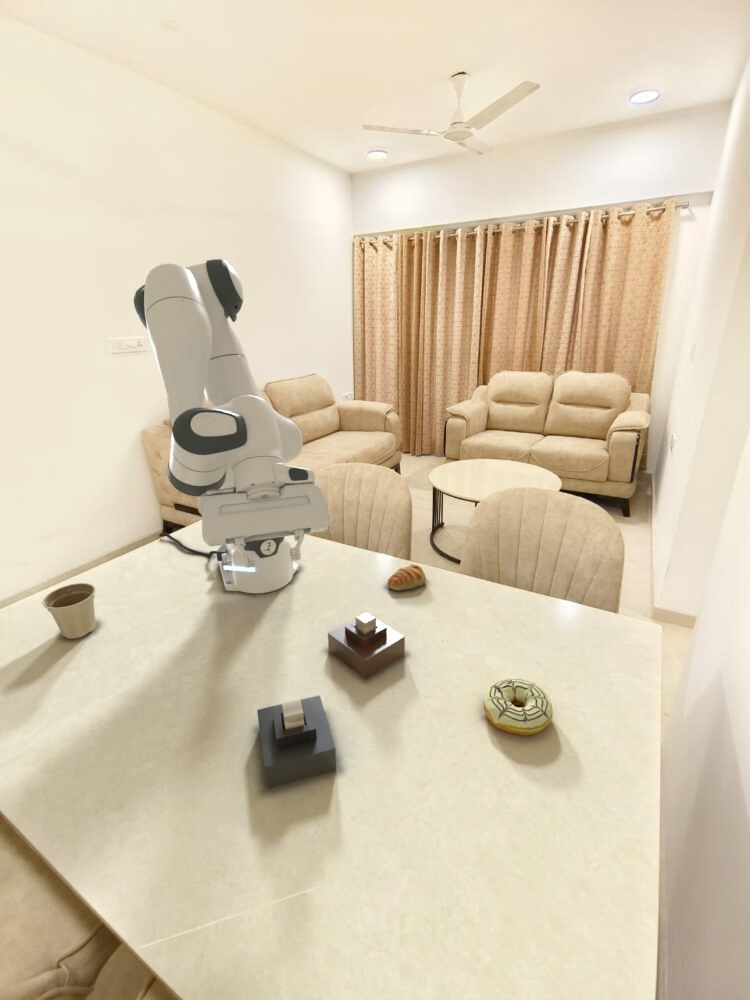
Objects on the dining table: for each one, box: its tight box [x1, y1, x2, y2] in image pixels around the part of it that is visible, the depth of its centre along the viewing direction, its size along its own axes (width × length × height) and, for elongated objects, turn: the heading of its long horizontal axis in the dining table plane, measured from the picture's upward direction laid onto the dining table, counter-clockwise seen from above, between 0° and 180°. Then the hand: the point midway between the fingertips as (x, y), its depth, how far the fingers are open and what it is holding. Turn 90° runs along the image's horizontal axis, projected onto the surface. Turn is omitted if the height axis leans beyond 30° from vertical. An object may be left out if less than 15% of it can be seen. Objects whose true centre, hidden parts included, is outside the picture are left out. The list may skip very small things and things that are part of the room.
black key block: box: [256, 695, 337, 790], centre depth 75 cm, size 11×10×6 cm
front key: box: [281, 699, 305, 730], centre depth 74 cm, size 3×3×2 cm
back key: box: [354, 611, 377, 634], centre depth 95 cm, size 3×3×2 cm
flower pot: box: [42, 582, 97, 640], centre depth 103 cm, size 9×9×9 cm
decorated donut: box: [483, 677, 554, 736], centre depth 81 cm, size 10×11×4 cm
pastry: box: [387, 563, 427, 592], centre depth 120 cm, size 9×7×4 cm
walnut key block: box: [327, 618, 406, 680], centre depth 96 cm, size 11×10×6 cm
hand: (273, 563), depth 78 cm, fingers open, 6 cm apart
